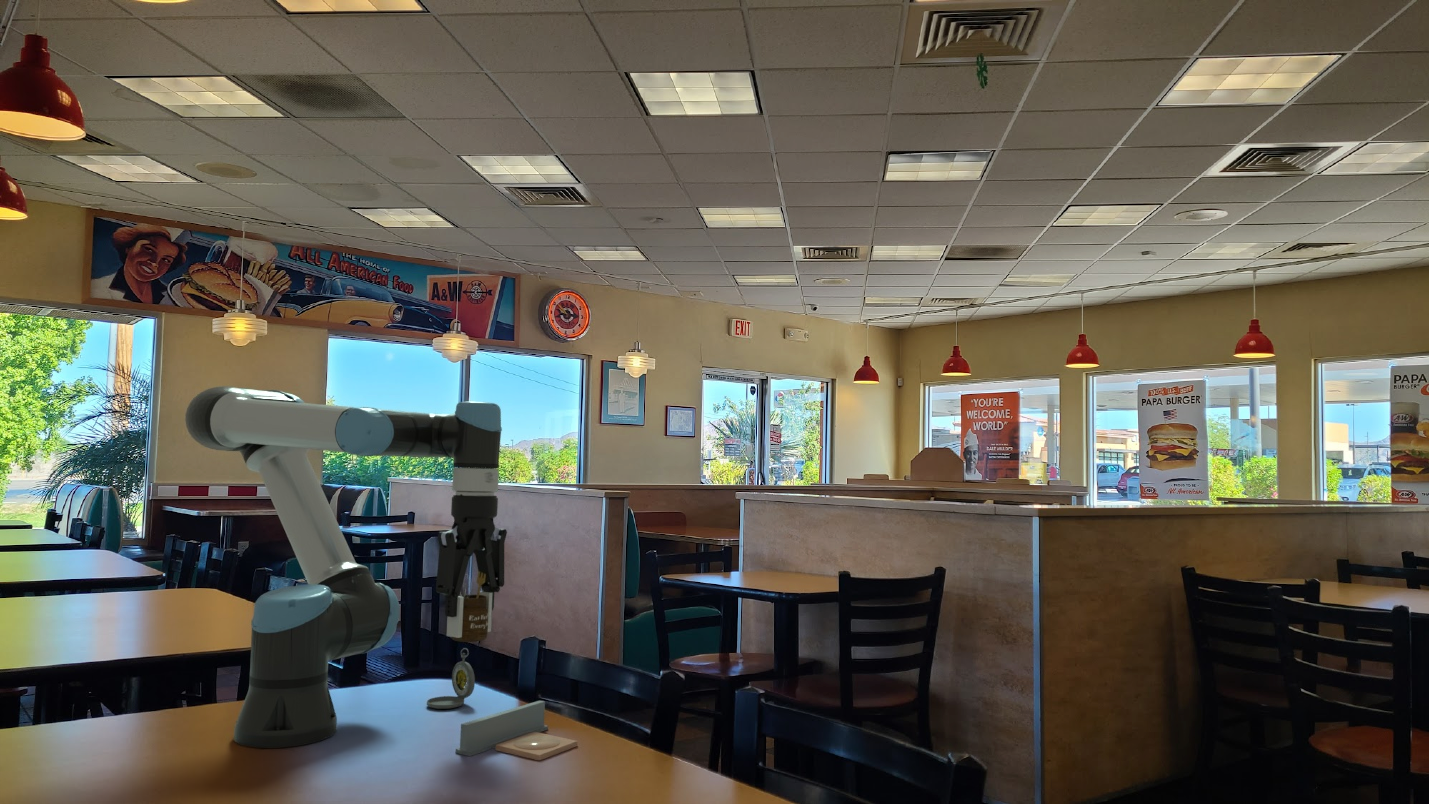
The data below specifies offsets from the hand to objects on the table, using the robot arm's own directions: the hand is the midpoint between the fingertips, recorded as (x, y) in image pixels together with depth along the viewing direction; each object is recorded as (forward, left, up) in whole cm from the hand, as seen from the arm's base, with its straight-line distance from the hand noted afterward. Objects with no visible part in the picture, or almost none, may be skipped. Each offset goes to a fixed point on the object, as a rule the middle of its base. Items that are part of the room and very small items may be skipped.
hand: (469, 633), depth 157 cm
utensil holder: (0, 0, -1) cm, 1 cm away
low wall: (+8, +1, -16) cm, 18 cm away
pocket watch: (-16, +12, -17) cm, 26 cm away
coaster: (+15, +1, -16) cm, 22 cm away
